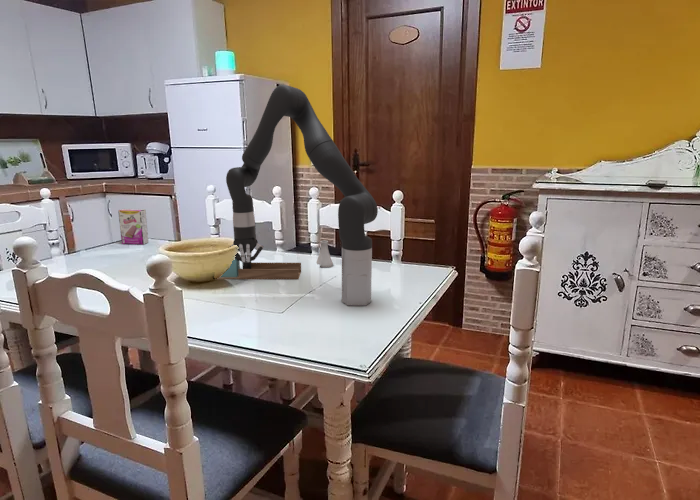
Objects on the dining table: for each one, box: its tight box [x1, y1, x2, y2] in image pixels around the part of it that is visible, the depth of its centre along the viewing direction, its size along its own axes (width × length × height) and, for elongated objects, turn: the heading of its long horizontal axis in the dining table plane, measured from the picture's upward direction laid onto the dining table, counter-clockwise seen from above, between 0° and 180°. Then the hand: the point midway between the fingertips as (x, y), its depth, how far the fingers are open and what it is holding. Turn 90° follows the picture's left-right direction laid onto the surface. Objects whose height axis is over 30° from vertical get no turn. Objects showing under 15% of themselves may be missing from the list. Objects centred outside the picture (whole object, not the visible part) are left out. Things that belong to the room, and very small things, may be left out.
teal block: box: [221, 258, 241, 277], centre depth 172 cm, size 5×8×6 cm, turn 90°
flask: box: [315, 239, 334, 268], centre depth 190 cm, size 7×7×10 cm
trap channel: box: [216, 262, 302, 280], centre depth 172 cm, size 10×31×5 cm, turn 90°
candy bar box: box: [118, 208, 149, 246], centre depth 226 cm, size 11×5×16 cm, turn 84°
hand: (247, 271), depth 173 cm, fingers closed
